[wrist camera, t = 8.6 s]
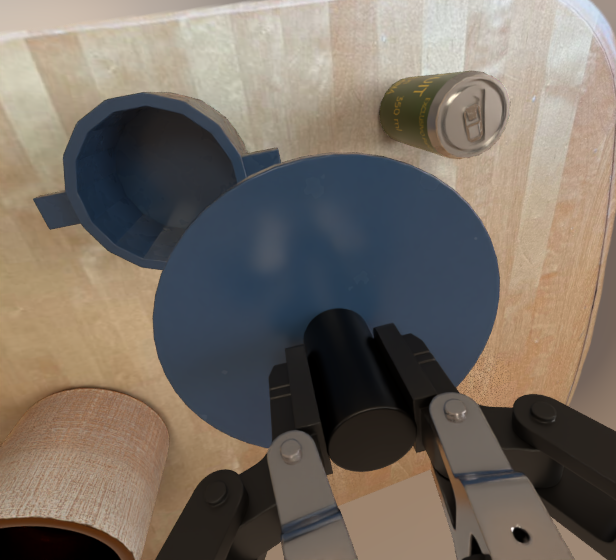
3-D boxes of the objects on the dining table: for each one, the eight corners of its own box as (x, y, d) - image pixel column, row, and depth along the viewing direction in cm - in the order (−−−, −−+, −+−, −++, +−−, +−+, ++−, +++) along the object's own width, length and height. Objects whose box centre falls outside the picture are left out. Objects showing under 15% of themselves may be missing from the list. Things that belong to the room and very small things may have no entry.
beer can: (437, 127, 35) (517, 142, 24) (385, 149, 35) (441, 174, 24) (425, 67, 32) (509, 54, 22) (369, 91, 32) (425, 91, 22)
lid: (94, 198, 12) (-40, 283, 6) (495, 111, 12) (685, 122, 7) (219, 460, 18) (206, 612, 13) (477, 396, 19) (568, 517, 13)
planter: (-5, 395, 42) (-132, 542, 28) (149, 371, 43) (100, 500, 30) (57, 486, 50) (-17, 635, 36) (185, 464, 52) (160, 599, 38)
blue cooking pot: (50, 116, 30) (-18, 123, 23) (260, 75, 31) (262, 68, 23) (114, 251, 36) (77, 292, 29) (289, 214, 37) (297, 245, 29)
